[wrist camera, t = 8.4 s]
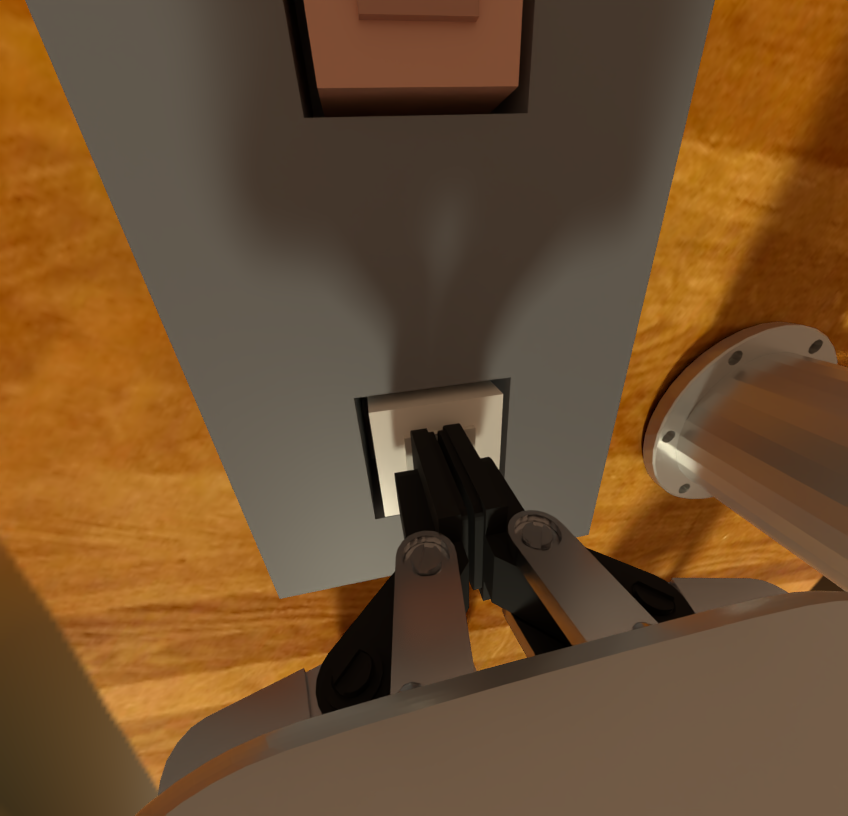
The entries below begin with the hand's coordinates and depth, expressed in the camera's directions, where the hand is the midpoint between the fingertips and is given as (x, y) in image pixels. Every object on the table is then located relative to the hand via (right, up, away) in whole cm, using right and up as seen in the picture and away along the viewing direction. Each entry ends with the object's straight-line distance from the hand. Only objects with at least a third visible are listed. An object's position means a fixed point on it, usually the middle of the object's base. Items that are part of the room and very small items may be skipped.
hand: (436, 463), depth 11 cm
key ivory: (0, +1, +3) cm, 3 cm away
